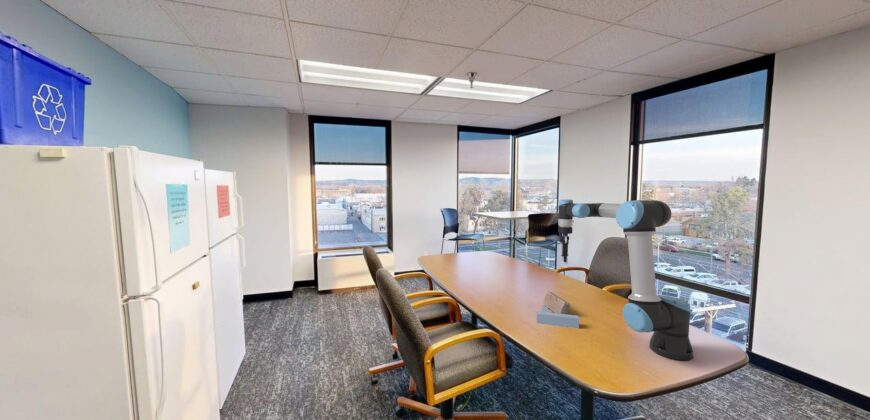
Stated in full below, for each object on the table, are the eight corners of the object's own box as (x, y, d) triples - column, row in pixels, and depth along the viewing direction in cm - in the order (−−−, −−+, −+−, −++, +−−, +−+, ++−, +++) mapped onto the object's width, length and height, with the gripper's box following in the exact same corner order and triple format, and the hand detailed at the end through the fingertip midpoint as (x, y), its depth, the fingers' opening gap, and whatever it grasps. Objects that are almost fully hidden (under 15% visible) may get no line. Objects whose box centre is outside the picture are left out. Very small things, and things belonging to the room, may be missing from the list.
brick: (571, 304, 174) (564, 302, 172) (566, 318, 174) (559, 316, 173) (553, 292, 189) (546, 290, 188) (548, 305, 190) (541, 303, 189)
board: (578, 328, 160) (579, 318, 160) (536, 323, 167) (536, 313, 166) (576, 319, 172) (577, 310, 171) (537, 314, 178) (537, 305, 178)
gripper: (573, 227, 178) (572, 270, 179) (571, 225, 190) (570, 265, 192) (558, 227, 180) (558, 269, 182) (557, 225, 193) (557, 264, 194)
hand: (564, 267), depth 187 cm, fingers closed
